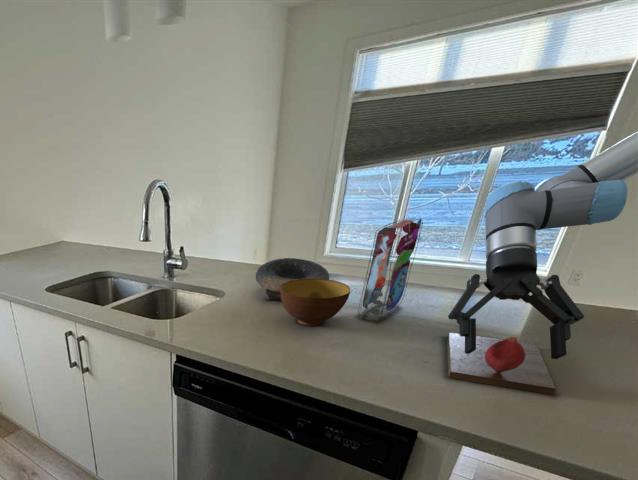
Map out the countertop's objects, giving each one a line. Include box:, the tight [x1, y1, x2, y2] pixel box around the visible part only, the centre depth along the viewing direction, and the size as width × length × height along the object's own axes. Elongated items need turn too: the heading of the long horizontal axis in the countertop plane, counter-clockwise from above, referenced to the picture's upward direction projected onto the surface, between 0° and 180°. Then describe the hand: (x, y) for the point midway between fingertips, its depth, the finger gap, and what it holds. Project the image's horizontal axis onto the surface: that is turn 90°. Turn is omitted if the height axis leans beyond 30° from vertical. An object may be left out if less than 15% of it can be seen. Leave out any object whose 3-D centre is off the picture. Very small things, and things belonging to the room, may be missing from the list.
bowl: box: [280, 279, 351, 327], centre depth 113 cm, size 18×18×10 cm
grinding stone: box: [255, 257, 330, 301], centre depth 135 cm, size 23×25×10 cm
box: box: [357, 218, 424, 323], centre depth 113 cm, size 25×6×24 cm, turn 131°
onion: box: [485, 335, 525, 373], centre depth 80 cm, size 6×6×8 cm
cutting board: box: [446, 332, 557, 396], centre depth 88 cm, size 22×16×2 cm
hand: (513, 354), depth 77 cm, fingers open, 13 cm apart
